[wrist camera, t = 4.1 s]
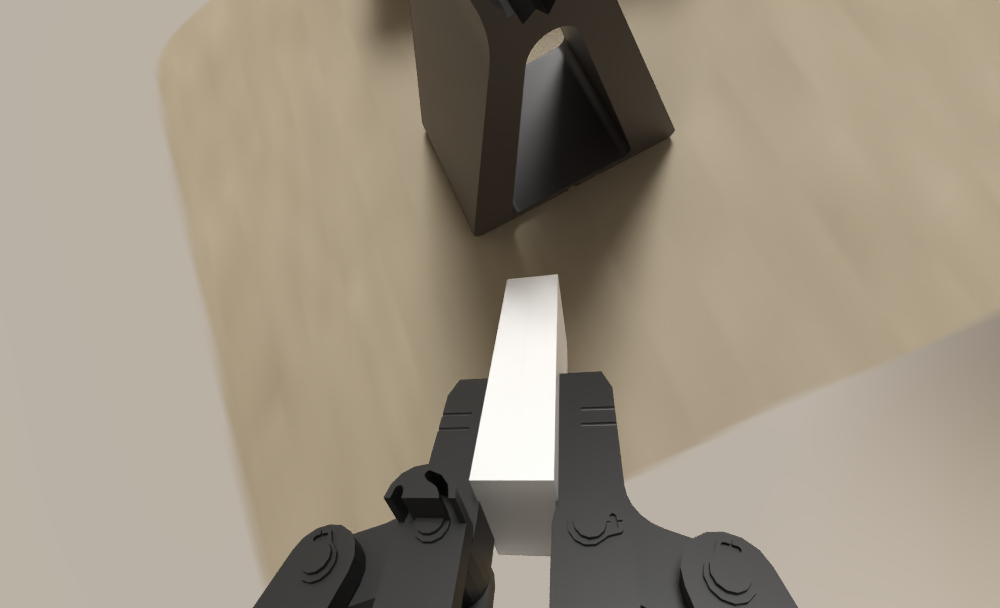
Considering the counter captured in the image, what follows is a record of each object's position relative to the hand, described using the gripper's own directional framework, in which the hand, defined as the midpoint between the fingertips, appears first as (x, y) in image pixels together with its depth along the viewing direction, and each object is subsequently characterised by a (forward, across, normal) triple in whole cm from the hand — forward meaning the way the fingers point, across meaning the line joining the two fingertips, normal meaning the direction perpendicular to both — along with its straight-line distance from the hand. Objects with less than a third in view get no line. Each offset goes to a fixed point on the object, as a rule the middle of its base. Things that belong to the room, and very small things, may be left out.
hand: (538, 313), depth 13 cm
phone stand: (+9, 0, +3) cm, 9 cm away
